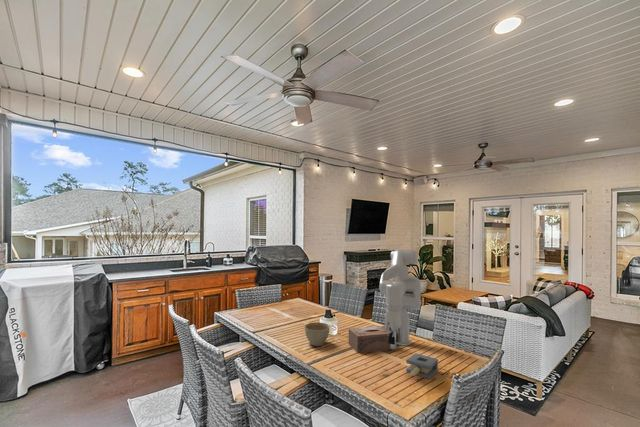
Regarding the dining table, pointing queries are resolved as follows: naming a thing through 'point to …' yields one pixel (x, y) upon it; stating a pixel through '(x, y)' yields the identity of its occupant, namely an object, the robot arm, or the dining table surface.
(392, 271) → the robot arm
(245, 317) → the dining table surface
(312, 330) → the planter bowl
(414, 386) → the dining table surface
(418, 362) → the clevis bracket
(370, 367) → the dining table surface
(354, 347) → the tissue box cover
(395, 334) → the steel pin
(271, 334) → the dining table surface
